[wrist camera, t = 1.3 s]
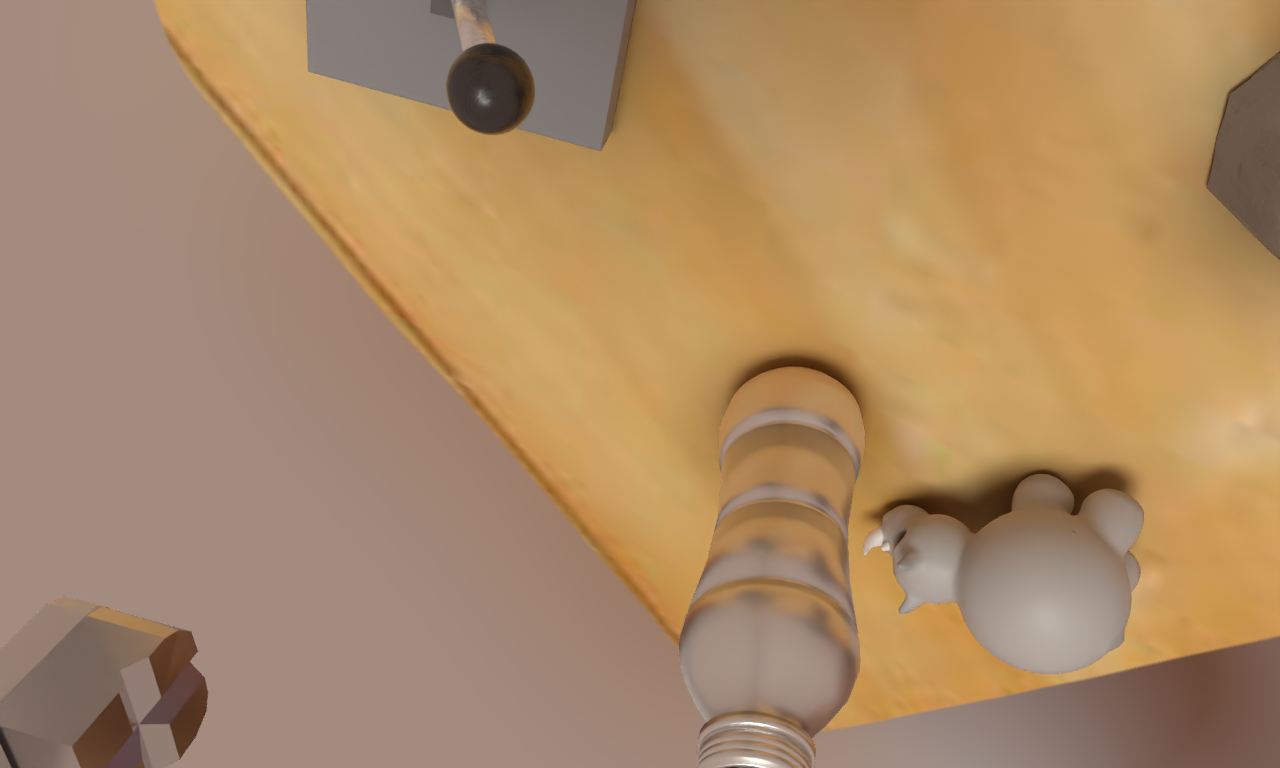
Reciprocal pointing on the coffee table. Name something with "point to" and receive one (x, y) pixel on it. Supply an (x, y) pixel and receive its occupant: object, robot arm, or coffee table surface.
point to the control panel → (520, 19)
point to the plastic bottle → (777, 575)
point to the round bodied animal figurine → (1026, 572)
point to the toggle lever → (487, 76)
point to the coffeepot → (1252, 156)
